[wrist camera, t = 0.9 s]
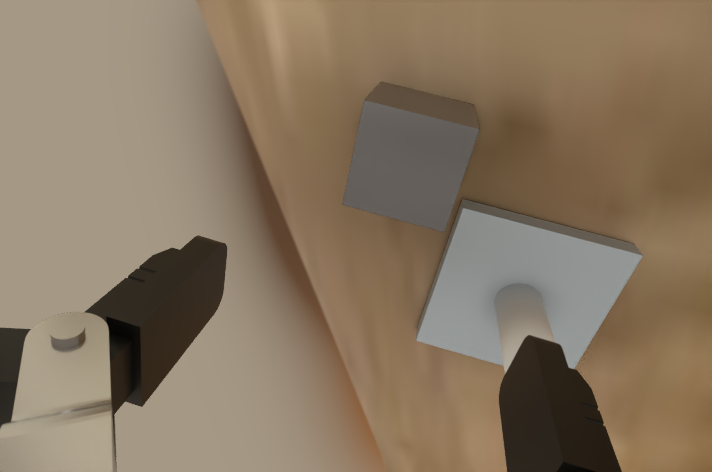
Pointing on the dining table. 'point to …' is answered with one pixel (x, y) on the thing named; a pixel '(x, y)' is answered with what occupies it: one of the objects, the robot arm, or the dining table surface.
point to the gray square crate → (410, 155)
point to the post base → (526, 260)
